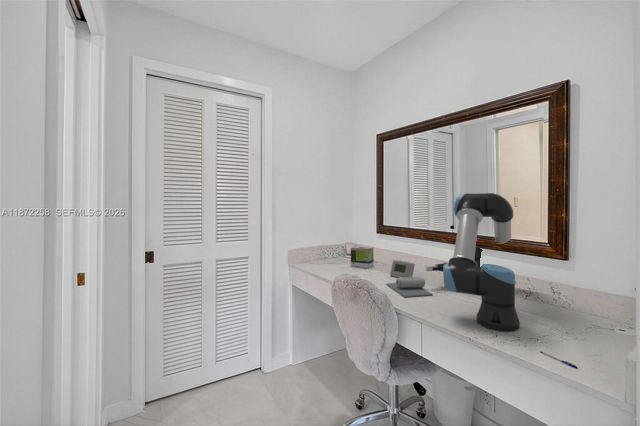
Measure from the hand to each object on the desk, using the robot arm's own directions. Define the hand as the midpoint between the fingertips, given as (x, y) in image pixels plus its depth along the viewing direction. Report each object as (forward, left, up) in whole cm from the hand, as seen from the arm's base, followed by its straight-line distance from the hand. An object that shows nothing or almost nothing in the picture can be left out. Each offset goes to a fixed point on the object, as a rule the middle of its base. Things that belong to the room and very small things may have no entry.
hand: (426, 268), depth 171 cm
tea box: (+63, +18, -12) cm, 66 cm away
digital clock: (+25, +3, -12) cm, 27 cm away
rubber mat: (0, +12, -11) cm, 16 cm away
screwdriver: (-78, 0, -12) cm, 79 cm away
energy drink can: (-1, +2, -8) cm, 8 cm away
